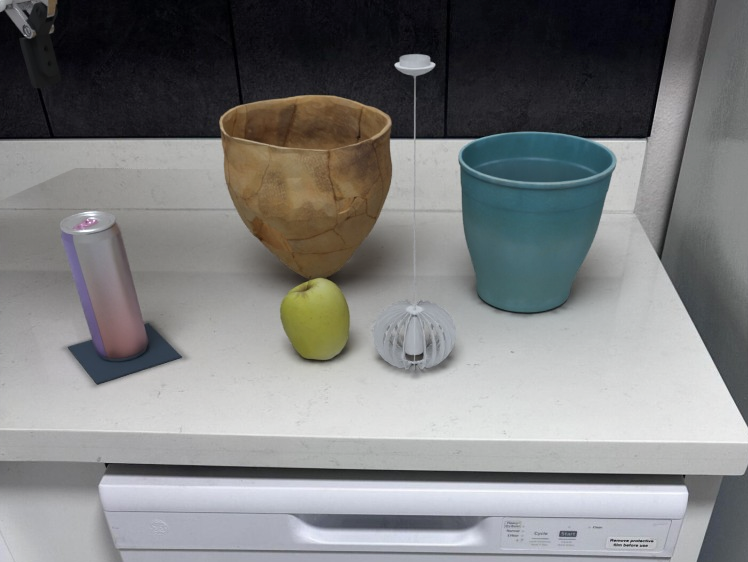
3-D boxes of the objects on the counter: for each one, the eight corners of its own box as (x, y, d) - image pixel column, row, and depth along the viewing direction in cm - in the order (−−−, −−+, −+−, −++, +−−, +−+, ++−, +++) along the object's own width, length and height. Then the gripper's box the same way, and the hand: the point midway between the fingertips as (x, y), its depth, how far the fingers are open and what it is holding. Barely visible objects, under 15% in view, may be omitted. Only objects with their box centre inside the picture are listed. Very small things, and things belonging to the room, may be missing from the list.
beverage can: (86, 359, 90) (45, 228, 80) (116, 335, 94) (80, 207, 84) (131, 367, 89) (95, 235, 79) (159, 342, 93) (128, 213, 83)
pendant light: (356, 358, 90) (341, 58, 70) (413, 330, 95) (414, 42, 75) (414, 389, 85) (415, 75, 65) (471, 358, 90) (489, 57, 70)
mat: (67, 348, 93) (67, 346, 92) (148, 324, 97) (148, 322, 97) (96, 384, 86) (96, 383, 86) (181, 357, 91) (181, 356, 91)
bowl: (418, 262, 110) (419, 103, 96) (351, 325, 96) (341, 151, 83) (289, 238, 116) (273, 87, 103) (209, 295, 103) (179, 128, 89)
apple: (374, 338, 91) (350, 266, 83) (325, 381, 89) (296, 311, 81) (330, 316, 96) (303, 246, 88) (282, 356, 93) (250, 288, 85)
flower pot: (591, 333, 94) (616, 186, 83) (442, 320, 97) (447, 176, 85) (595, 270, 107) (617, 135, 96) (463, 260, 110) (469, 128, 98)
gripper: (-178, -159, 64) (-89, 78, 75) (-20, -156, 59) (50, 99, 70) (-100, -161, 69) (-28, 62, 80) (52, -159, 64) (106, 80, 75)
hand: (8, 79), depth 75 cm, fingers open, 9 cm apart
